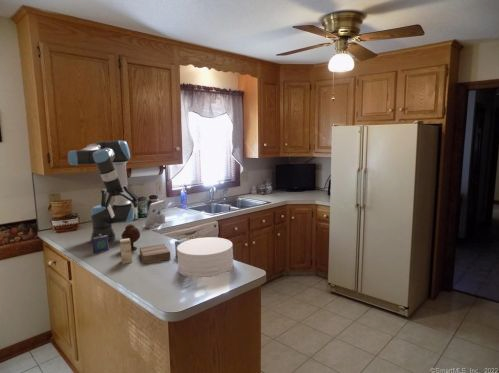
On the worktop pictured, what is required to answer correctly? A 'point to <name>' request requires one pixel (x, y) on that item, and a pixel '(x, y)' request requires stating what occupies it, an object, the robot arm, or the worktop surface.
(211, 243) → the plate stack
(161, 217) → the phone holder
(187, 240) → the medicine box
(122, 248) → the maple block
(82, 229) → the worktop surface
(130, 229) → the ice cream bowl
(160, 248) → the board
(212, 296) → the worktop surface
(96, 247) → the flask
